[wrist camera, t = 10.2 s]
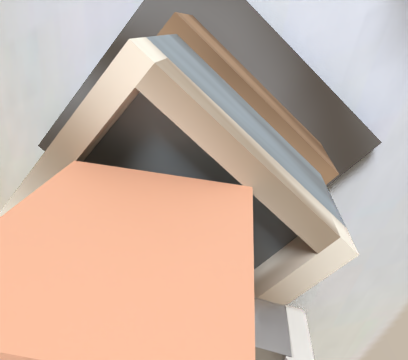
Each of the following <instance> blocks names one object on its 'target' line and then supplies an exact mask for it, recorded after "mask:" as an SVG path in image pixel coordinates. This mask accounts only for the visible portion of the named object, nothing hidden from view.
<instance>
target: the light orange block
mask: <svg viewBox="0 0 408 360" xmlns="http://www.w3.org/2000/svg"><path fill="white" fill-rule="evenodd" d="M0 360H255V306H254V244H253V187H250V186H243V185H236V184H229V183H223V182H216V181H209V180H202V179H196V178H189V177H182V176H175V175H169V174H162V173H155V172H148V171H142V170H135V169H128V168H121V167H115V166H108V165H101V164H94V163H88V162H81V161H73V162H72V163H70V164H69V165H68V166H66V167H65V168H64V169H62V170H61V171H60V172H58V173H57V174H56V175H55V176H53V177H52V178H51V179H49V180H48V181H47V182H45V183H44V184H43V185H41V186H40V187H39V188H38V189H36V190H35V191H34V192H32V193H31V194H30V195H28V196H27V197H26V198H24V199H23V200H22V201H21V202H19V203H18V204H17V205H15V206H14V207H13V208H11V209H10V210H9V211H7V212H6V213H5V214H4V215H2V216H1V217H0Z"/></svg>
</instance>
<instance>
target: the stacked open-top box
mask: <svg viewBox="0 0 408 360" xmlns="http://www.w3.org/2000/svg"><path fill="white" fill-rule="evenodd" d="M380 143H382V142H381V141H380V140H379V139H378V138H377V137H376V136H375V135H374V134H373V133H372V132H371V131H370V130H369V129H368V128H367V127H366V126H365V125H364V123H363V122H362V121H361V120H360V119H359V118H358V117H357V116H356V115H355V114H354V113H353V112H352V111H351V110H350V109H349V108H348V107H347V106H346V105H345V104H344V102H343V101H342V100H341V99H340V98H339V97H338V96H337V95H336V94H335V93H334V92H333V91H332V90H331V89H330V88H329V87H328V86H327V85H326V84H325V83H324V82H323V80H322V79H321V78H320V77H319V76H318V75H317V74H316V73H315V72H314V71H313V70H312V69H311V68H310V67H309V66H308V65H307V64H306V63H305V62H304V61H303V59H302V58H301V57H300V56H299V55H298V54H297V53H296V52H295V51H294V50H293V49H292V48H291V47H290V46H289V45H288V44H287V43H286V42H285V41H284V40H283V38H282V37H281V36H280V35H279V34H278V33H277V32H276V31H275V30H274V29H273V28H272V27H271V26H270V25H269V24H268V23H267V22H266V21H265V20H264V19H263V18H262V16H261V15H260V14H259V13H258V12H257V11H256V10H255V9H254V8H253V7H252V6H251V5H250V4H249V3H248V2H247V1H246V0H144V1H143V2H142V4H141V5H140V6H139V8H138V9H137V11H136V12H135V13H134V15H133V16H132V17H131V19H130V20H129V22H128V23H127V24H126V26H125V27H124V28H123V30H122V31H121V33H120V34H119V35H118V37H117V38H116V39H115V41H114V42H113V44H112V45H111V46H110V48H109V49H108V50H107V52H106V53H105V55H104V56H103V57H102V59H101V60H100V61H99V63H98V64H97V66H96V67H95V68H94V70H93V71H92V72H91V74H90V75H89V76H88V78H87V79H86V81H85V82H84V83H83V85H82V86H81V87H80V89H79V90H78V92H77V93H76V94H75V96H74V97H73V98H72V100H71V101H70V103H69V104H68V105H67V107H66V108H65V109H64V111H63V112H62V114H61V115H60V116H59V118H58V119H57V120H56V122H55V123H54V125H53V126H52V127H51V129H50V130H49V131H48V133H47V134H46V136H45V137H44V138H43V140H42V141H41V142H40V144H39V145H38V146H39V147H40V148H42V149H43V150H44V151H45V152H44V154H43V155H42V156H41V158H40V159H39V160H38V162H37V163H36V164H35V166H34V167H33V168H32V170H31V171H30V172H29V174H28V175H27V176H26V178H25V179H24V180H23V182H22V183H21V184H20V186H19V187H18V188H17V190H16V191H15V192H14V194H13V195H12V197H11V198H10V199H9V201H8V202H7V203H6V205H5V206H4V207H3V209H2V210H1V211H0V217H1V216H2V215H4V214H5V213H6V212H7V211H9V210H10V209H11V208H13V207H14V206H15V205H17V204H18V203H19V202H21V201H22V200H23V199H24V198H26V197H27V196H28V195H30V194H31V193H32V192H34V191H35V190H36V189H38V188H39V187H40V186H41V185H43V184H44V183H45V182H47V181H48V180H49V179H51V178H52V177H53V176H55V175H56V174H57V173H58V172H60V171H61V170H62V169H64V168H65V167H66V166H68V165H69V164H70V163H72V162H73V161H81V162H88V163H94V164H101V165H108V166H115V167H121V168H128V169H135V170H142V171H148V172H155V173H162V174H169V175H175V176H182V177H189V178H196V179H202V180H209V181H216V182H223V183H229V184H236V185H243V186H250V187H253V244H254V297H256V298H260V299H263V300H267V301H271V302H275V303H279V304H282V305H287V304H289V303H290V302H292V301H293V300H295V299H296V298H297V297H299V296H300V295H302V294H303V293H305V292H306V291H308V290H309V289H311V288H312V287H313V286H315V285H316V284H318V283H319V282H321V281H322V280H324V279H325V278H327V277H328V276H329V275H331V274H332V273H334V272H335V271H337V270H338V269H340V268H341V267H343V266H344V265H345V264H347V263H348V262H350V261H351V260H353V259H354V258H356V257H357V256H359V253H358V251H357V249H356V247H355V245H354V243H353V241H352V239H351V237H350V234H349V232H348V230H347V228H346V226H345V224H344V222H343V220H342V218H341V216H340V213H339V211H338V209H337V207H336V205H335V203H334V201H333V199H332V197H331V195H330V193H329V190H328V188H327V186H328V185H330V184H331V183H332V182H333V181H334V180H336V179H337V178H338V177H339V176H341V175H342V174H343V173H344V172H346V171H347V170H348V169H349V168H351V167H352V166H353V165H354V164H356V163H357V162H358V161H359V160H361V159H362V158H363V157H364V156H366V155H367V154H368V153H369V152H371V151H372V150H373V149H374V148H375V147H377V146H378V145H379V144H380Z"/></svg>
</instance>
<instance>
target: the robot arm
mask: <svg viewBox="0 0 408 360" xmlns="http://www.w3.org/2000/svg"><path fill="white" fill-rule="evenodd" d="M254 306H255V360H315V357H314V352H313V347H312V342H311V338H310V333H309V328H308V323H307V318H306V313H305V311H304V310H303V309H300V308H296V307H292V306H288V305H282V304H279V303H275V302H271V301H267V300H263V299H260V298H256V297H254Z"/></svg>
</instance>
